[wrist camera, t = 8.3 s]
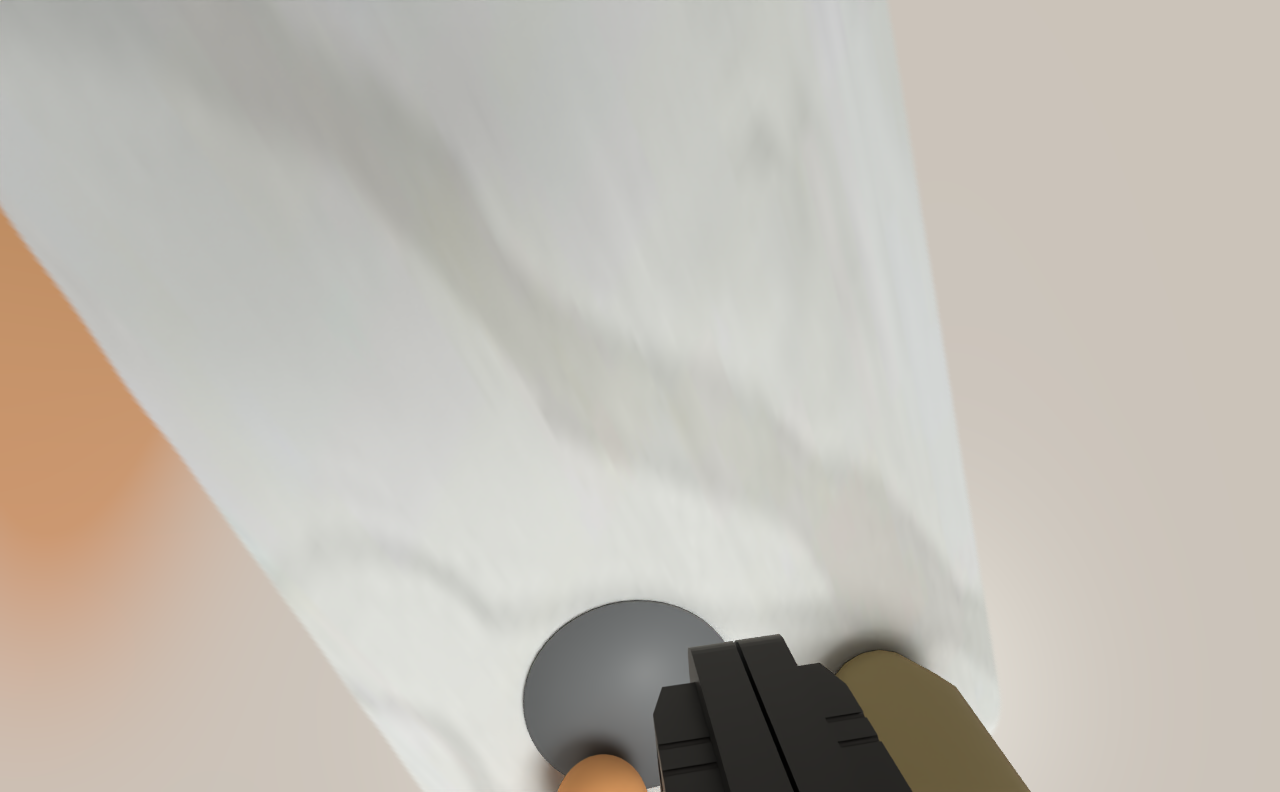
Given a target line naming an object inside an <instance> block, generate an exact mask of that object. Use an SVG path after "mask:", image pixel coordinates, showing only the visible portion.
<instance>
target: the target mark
mask: <svg viewBox="0 0 1280 792" xmlns="http://www.w3.org/2000/svg"><path fill="white" fill-rule="evenodd" d="M723 642H724V641H723V639H722V638H721V637H720V635H719V634H718V633H717V632H716V631H715V630H714V629H713V628H712V627H711V626H710V625H708V624H707V623H706V622H705V621H704V620H702V619H701V618H699V617H697V616H696V615H694V614H692V613H691V612H688V611H686V610H684V609H682V608H679V607H676V606H673V605H669V604H666V603H660V602H654V601H625V602H619V603H614V604H609V605H605V606H602V607H599V608H596V609H593V610H591V611H589V612H587V613H585V614H582V615H580V616H579V617H577V618H575V619H574V620H572V621H571V622H569V623H567V624H566V625H565V626H564V627H562V628H561V629H560V630H559V631H557V632H556V633H555V634H554V635H553V636H552V637H551V639H550V640H549V641H548V642H547V643H546V644H545V645H544V647H543V648H542V649H541V651H540V652H539V654H538V655H537V657H536V659H535V661H534V663H533V664H532V667H531V670H530V672H529V675H528V677H527V682H526V686H525V692H524V716H525V721H526V725H527V729H528V731H529V734H530V736H531V739H532V741H533V743H534V744H535V746H536V748H537V749H538V751H539V752H540V753H541V755H542V756H543V757H544V758H545V759H546V761H548V762H549V763H550V764H551V765H552V766H553V767H554V768H555V769H557V770H558V771H559V772H561V773H562V774H564V775H565V776H566V775H567V773H568V772H569V771H570V770H571V769H572V768H573V767H574V766H575V765H576V764H577V763H579V762H580V761H582V760H584V759H586V758H588V757H590V756H594V755H599V754H608V755H614V756H617V757H619V758H622V759H623V760H625V761H627V762H628V763H629V764H630V765H632V766H633V767H634V768H635V770H636V771H637V772H638V773H639V775H640V776H641V778H642V780H643V782H644V784H645V786H646V789H648V788H652V787H657V786H660V779H659V769H658V760H657V750H656V740H655V730H654V721H653V713H654V710H655V707H656V704H657V701H658V698H659V695H660V692H661V689H662V687H666V686H673V685H679V684H686V683H690V676H689V663H688V648H689V647H696V646H703V645H710V644H716V643H723Z"/></svg>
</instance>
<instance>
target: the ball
mask: <svg viewBox="0 0 1280 792" xmlns="http://www.w3.org/2000/svg"><path fill="white" fill-rule="evenodd" d="M558 792H647V789H646V786H645V784H644V782H643V780H642V778H641V776H640V775H639V773H638V772H637V771H636V770H635V768H634V767H633V766H632V765H630V764H629V763H628V762H627V761H625V760H623V759H622V758H619V757H617V756H614V755H608V754H599V755H594V756H590V757H588V758H586V759H584V760H582V761H580V762H579V763H577V764H576V765H575V766H574V767H573V768H572V769H571V770H570V771H569V772H568V773H567V775H566V776H565V778H564V779H563V781H562V783H561V785H560V787H559V789H558Z"/></svg>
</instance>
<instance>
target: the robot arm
mask: <svg viewBox="0 0 1280 792" xmlns="http://www.w3.org/2000/svg"><path fill="white" fill-rule="evenodd" d="M688 663H689V676H690V683H686V684H679V685H673V686H666V687H662V689H661V692H660V695H659V698H658V701H657V704H656V707H655V710H654V713H653V721H654V730H655V740H656V750H657V760H658V769H659V779H660V789H661V792H912V790H911V788H910V787H909V785H908V783H907V782H906V780H905V779H904V777H903V775H902V774H901V772H900V770H899V769H898V767H897V766H896V764H895V762H894V761H893V759H892V757H891V756H890V754H889V752H888V751H887V749H886V748H885V746H884V744H883V743H882V741H879V739H878V735H877V733H876V731H875V730H874V728H873V726H872V725H871V723H870V722H869V720H868V718H867V717H865V716H864V713H863V710H862V709H861V707H860V705H859V704H858V702H857V700H856V699H855V697H854V696H853V694H852V692H851V691H850V689H849V687H848V686H847V684H846V683H844V682H843V681H842V680H841V679H839V678H838V677H837V676H836V675H834V674H833V673H832V672H830V671H829V670H828V669H827V668H825V667H824V666H823V665H822V664H820V663H815V664H809V665H802V666H798V665H797V664H796V662H795V660H794V658H793V656H792V654H791V652H790V650H789V648H788V646H787V645H786V643H785V641H784V639H783V637H782V636H781V635H780V634H776V635H769V636H762V637H756V638H749V639H742V640H735V642H733V641H730V642H723V643H716V644H710V645H703V646H696V647H689V648H688Z"/></svg>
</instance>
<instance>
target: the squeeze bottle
mask: <svg viewBox="0 0 1280 792" xmlns="http://www.w3.org/2000/svg"><path fill="white" fill-rule="evenodd" d="M836 676H837V677H838V678H839V679H841V680H842V681H843V682H844V683H846V684H847V686H848V687H849V689H850V691H851V692H852V694H853V696H854V697H855V699H856V700H857V702H858V704H859V705H860V707H861V709H862V710H863V713H864V716H865V717H867V718H868V720H869V722H870V723H871V725H872V726H873V728H874V730H875V731H876V733H877V735H878V739H879V741H882V743H883V744H884V746H885V748H886V749H887V751H888V752H889V754H890V756H891V757H892V759H893V761H894V762H895V764H896V766H897V767H898V769H899V770H900V772H901V774H902V775H903V777H904V779H905V780H906V782H907V783H908V785H909V787H910V788H911V790H912V792H1030V790H1029V789H1028V787H1027V786H1026V785H1025V783H1024V782H1023V781H1022V779H1021V777H1020V776H1019V775H1018V773H1017V772H1016V771H1015V769H1014V768H1013V766H1012V765H1011V763H1010V762H1009V761H1008V759H1007V758H1006V756H1005V755H1004V754H1003V752H1002V751H1001V749H1000V748H999V747H998V745H997V744H996V742H995V741H994V740H993V739H992V737H991V735H990V734H989V733H988V731H987V730H986V728H985V727H984V726H983V724H982V723H981V721H980V720H979V719H978V717H977V716H976V714H975V713H974V712H973V710H972V709H971V707H970V706H969V704H968V703H967V702H966V700H965V699H964V697H963V696H962V695H961V693H960V692H959V690H958V689H957V688H956V687H955V686H954V685H952V684H951V683H949V682H948V681H946V680H944V679H943V678H941V677H940V676H938V675H937V674H935V673H933V672H931V671H929V670H927V669H926V668H924V667H922V666H920V665H918V664H916V663H915V662H913V661H911V660H909V659H907V658H905V657H904V656H902V655H900V654H898V653H896V652H890V651H884V650H875V651H871V652H866V653H862V654H860V655H858V656H856V657H855V658H853V659H851V660H850V661H848V662H847V663H845V664H844V665H843V667H842V668H841V669H840V670H839V671H838V673H837V674H836Z"/></svg>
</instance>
